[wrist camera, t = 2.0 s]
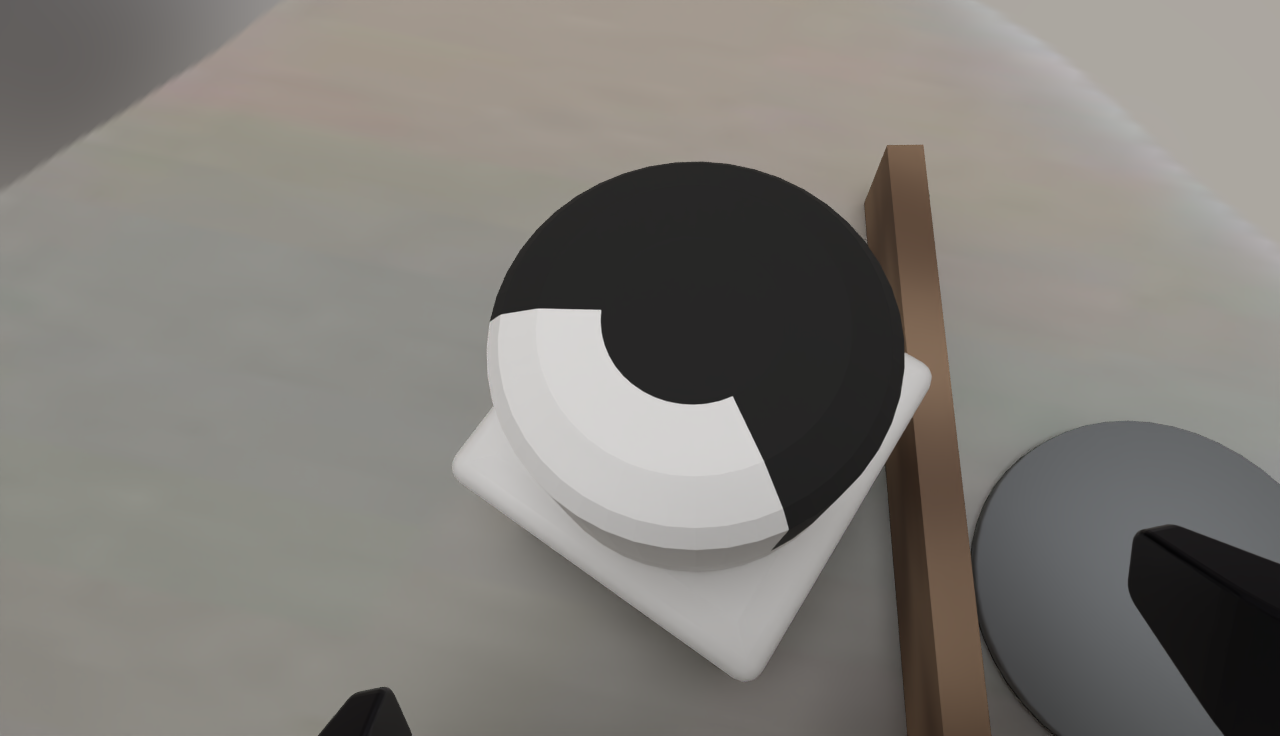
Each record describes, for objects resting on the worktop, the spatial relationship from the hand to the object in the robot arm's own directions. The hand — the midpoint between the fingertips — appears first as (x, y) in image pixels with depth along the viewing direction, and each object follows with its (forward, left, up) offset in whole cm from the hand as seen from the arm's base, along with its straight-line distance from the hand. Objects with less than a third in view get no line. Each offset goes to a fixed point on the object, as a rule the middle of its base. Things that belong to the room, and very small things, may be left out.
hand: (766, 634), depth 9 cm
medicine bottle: (+4, -1, -12) cm, 13 cm away
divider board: (+1, -6, -12) cm, 13 cm away
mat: (-3, -11, -12) cm, 16 cm away
